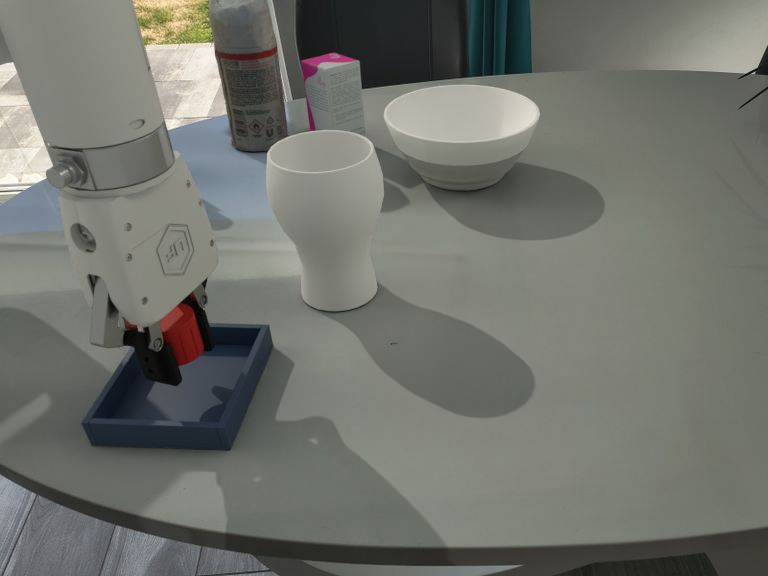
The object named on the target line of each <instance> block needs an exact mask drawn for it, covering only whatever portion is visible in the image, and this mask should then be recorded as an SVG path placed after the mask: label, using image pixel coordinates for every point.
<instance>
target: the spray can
mask: <svg viewBox="0 0 768 576" xmlns="http://www.w3.org/2000/svg"><path fill="white" fill-rule="evenodd" d="M208 17H209V24H210V31H211V34H212V41H213V48H214V58H215V60H216V61H215V62H216V64H217V70H218V75H219V79H220V82H221V88H222V89H221V90H222V95H223V99H224V104H225V111H226V115H227V119H228V125H229V130H230V135H231V139H230V142H231V146H232V147H234V148H236V149H238V150H241V151H245V152H247V151H248V152H268V151H269V150H270V148H271V147H272V146H273V145H274V144H276V143H277V142H278V141H280V140H282V139H285V138H287V137H289V136H290V135H289V133H288V122H287V113H286V105H285V96H284V90H283V80H282V74H281V65H280V57H279V50H278V41H277V37H276V33H275V30H274V25H273V20H272V15H271V10H270V6H269V2H268V0H208Z"/></svg>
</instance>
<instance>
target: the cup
mask: <svg viewBox="0 0 768 576" xmlns="http://www.w3.org/2000/svg"><path fill="white" fill-rule="evenodd" d="M265 189H266V194H267V199H268V204H269V207H270V209H271V211H272V213H273V215H274V217H275V219H276V221H277V223H278V225H279V226H280V228H281V229H282V231H283V233H284V234H285V235H286V236H287V237H288V238H289V240H290V241H291V242H292V243H293V245H294V247H295V249H296V254H297V255H298V258H299V262H300V264H301V265H300V292H301V298H302V300H303V301H304V303H306V304H307V305H308V306H309V307H312V308H314V309H316V310H321V311H325V312H343V311H349V310H353V309H356V308H359V307H360V306H364V305H365V304H367V303H369V302H370V301H371V300H373V298H374V297H375V296H376V294H377V292H378V289H379V287H378V282H377V278H376V277H377V276H376V273H375V269H374V265H373V262H372V259H371V240H372V239H371V238H372V235H373V233H374V230H375V228H376V226H377V224H378V222H379V218H380V216H381V211H382V206H383V202H384V197H385V186H384V175H383V170H382V167H381V164H380V160H379V158H378V154H377V151H376V149H375V146H374V143H373V142H372V141H370V139H369V138H368V137H367V136H366V137H364V136H362V135H359V134H356V133H352V132H347V131H339V130H320V131H310V130H309V131H305V132H300V133H295V134H293V135H289V137H287V138H285V139H282V140H280V141H278V142H277V143H276V144H274V145H273V146H272V147H271V148H270V150H267V153H266V167H265Z"/></svg>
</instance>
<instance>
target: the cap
mask: <svg viewBox="0 0 768 576" xmlns="http://www.w3.org/2000/svg"><path fill="white" fill-rule="evenodd" d="M160 324H161V329H162V335H163V342H167V343H170V344H171V345H172V348H173V351H174V354H175V357H176V360H177V363H178V366H181V365H185V364H188V363H190V362H192V361H194V360H195V359H197V358H198V357H199V356H200V355H201V353H202V352H203V349H204V345H203V341H202V338H201V335H200V331H199V328H198V325H197V321H196V318H195V315H194V311H193V309H192V308H191V307H190V306H188V305H186V304H182V303H179V304H178V305H177V306H176V307H175V308H174V309H172V310H171V311H170V312H169V313H168V314H167V315H166V316H165V317H163V318H162V319H161V320H160ZM141 328H142V329H143V330H144V327H141ZM144 333H145V331H144Z"/></svg>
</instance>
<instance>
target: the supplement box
mask: <svg viewBox="0 0 768 576" xmlns="http://www.w3.org/2000/svg"><path fill="white" fill-rule="evenodd" d="M300 62H301V70H302V77H303V86H304V94H305V95H304V96H305V101H306V110H307V117H308V125H309V132H310V131H320V130H339V131H347V132H352V133H356V134H359V135H362V136H364V137H366V138H367V135H366V122H365V111H364V109H365V108H364V99H363V87H362V76H361V75H362V74H361V62H360V60H358V59H355V58H352V57H348V56H345V55H343V54H339V53H337V52H330V53H327V54H322V55H320V56H319V55H318V56H315V57H310V58H306V59H302V60H300Z"/></svg>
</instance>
